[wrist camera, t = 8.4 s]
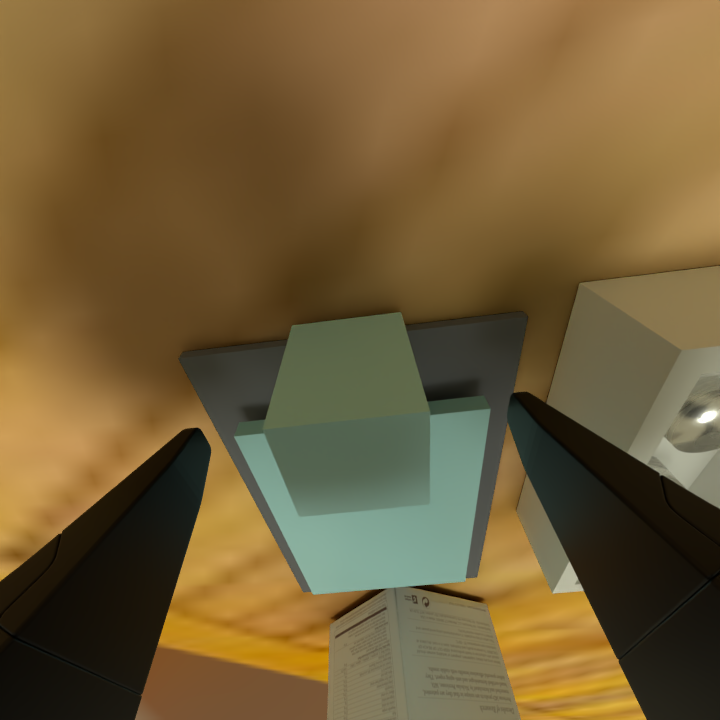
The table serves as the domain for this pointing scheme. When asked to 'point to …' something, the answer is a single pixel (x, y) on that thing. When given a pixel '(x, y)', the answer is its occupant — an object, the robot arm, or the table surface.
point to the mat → (438, 376)
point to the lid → (367, 460)
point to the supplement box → (417, 661)
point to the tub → (632, 383)
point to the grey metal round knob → (698, 418)
